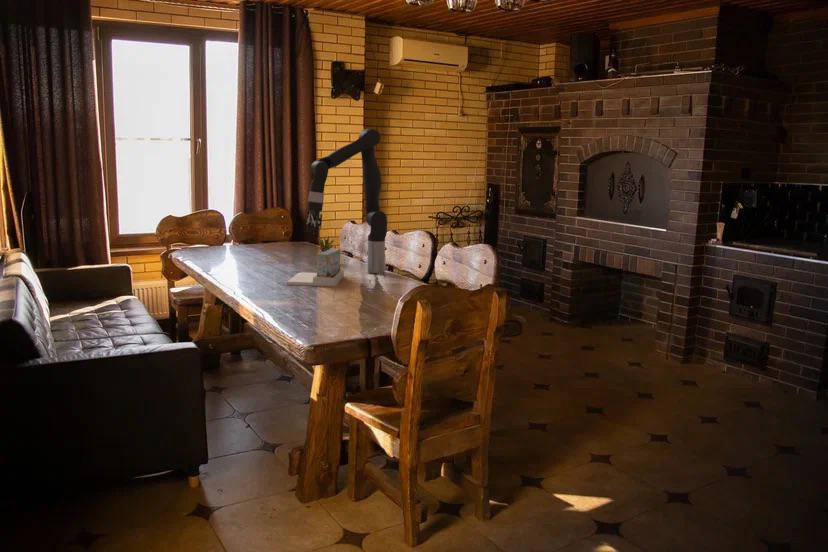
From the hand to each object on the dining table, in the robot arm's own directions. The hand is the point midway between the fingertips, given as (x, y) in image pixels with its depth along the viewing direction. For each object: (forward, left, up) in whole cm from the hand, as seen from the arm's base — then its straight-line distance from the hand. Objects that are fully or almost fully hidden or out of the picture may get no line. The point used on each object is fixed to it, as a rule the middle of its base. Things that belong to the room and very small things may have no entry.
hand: (312, 233), depth 351 cm
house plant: (0, -43, -23) cm, 48 cm away
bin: (-10, +8, -23) cm, 26 cm away
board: (+2, +8, -23) cm, 24 cm away
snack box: (-10, +8, -23) cm, 26 cm away
